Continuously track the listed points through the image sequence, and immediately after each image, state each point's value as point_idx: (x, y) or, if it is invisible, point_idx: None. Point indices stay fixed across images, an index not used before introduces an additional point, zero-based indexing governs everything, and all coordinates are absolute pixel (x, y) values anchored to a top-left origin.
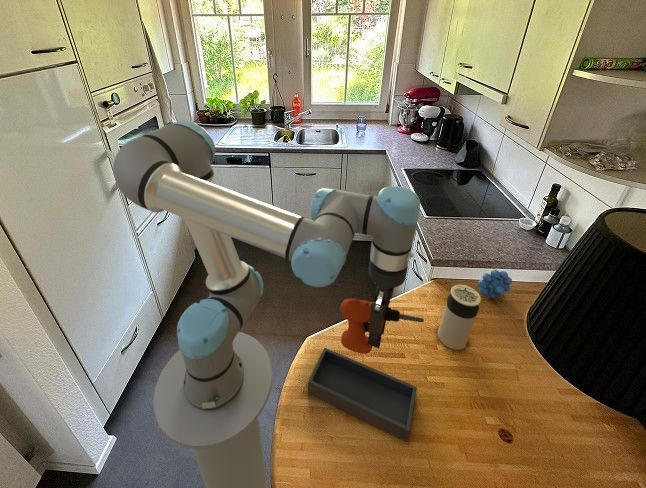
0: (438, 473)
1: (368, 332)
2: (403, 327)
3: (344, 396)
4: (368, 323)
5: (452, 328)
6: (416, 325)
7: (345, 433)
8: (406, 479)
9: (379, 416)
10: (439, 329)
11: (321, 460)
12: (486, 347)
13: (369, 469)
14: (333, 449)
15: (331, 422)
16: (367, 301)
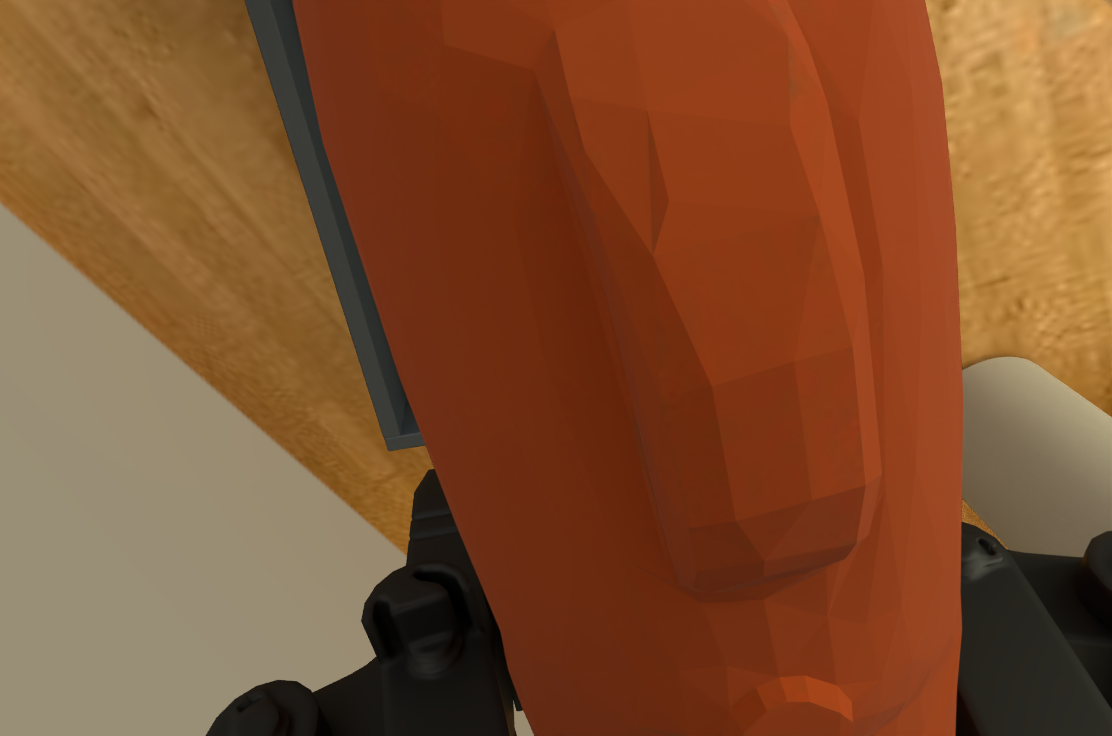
0: (379, 506)
1: (217, 723)
2: (986, 192)
3: (301, 108)
4: (443, 609)
5: (1011, 498)
6: (1019, 251)
7: (222, 164)
8: (278, 437)
9: (350, 327)
10: (1009, 386)
11: (17, 117)
12: (966, 522)
13: (190, 320)
14: (111, 146)
15: (205, 67)
16: (923, 671)
